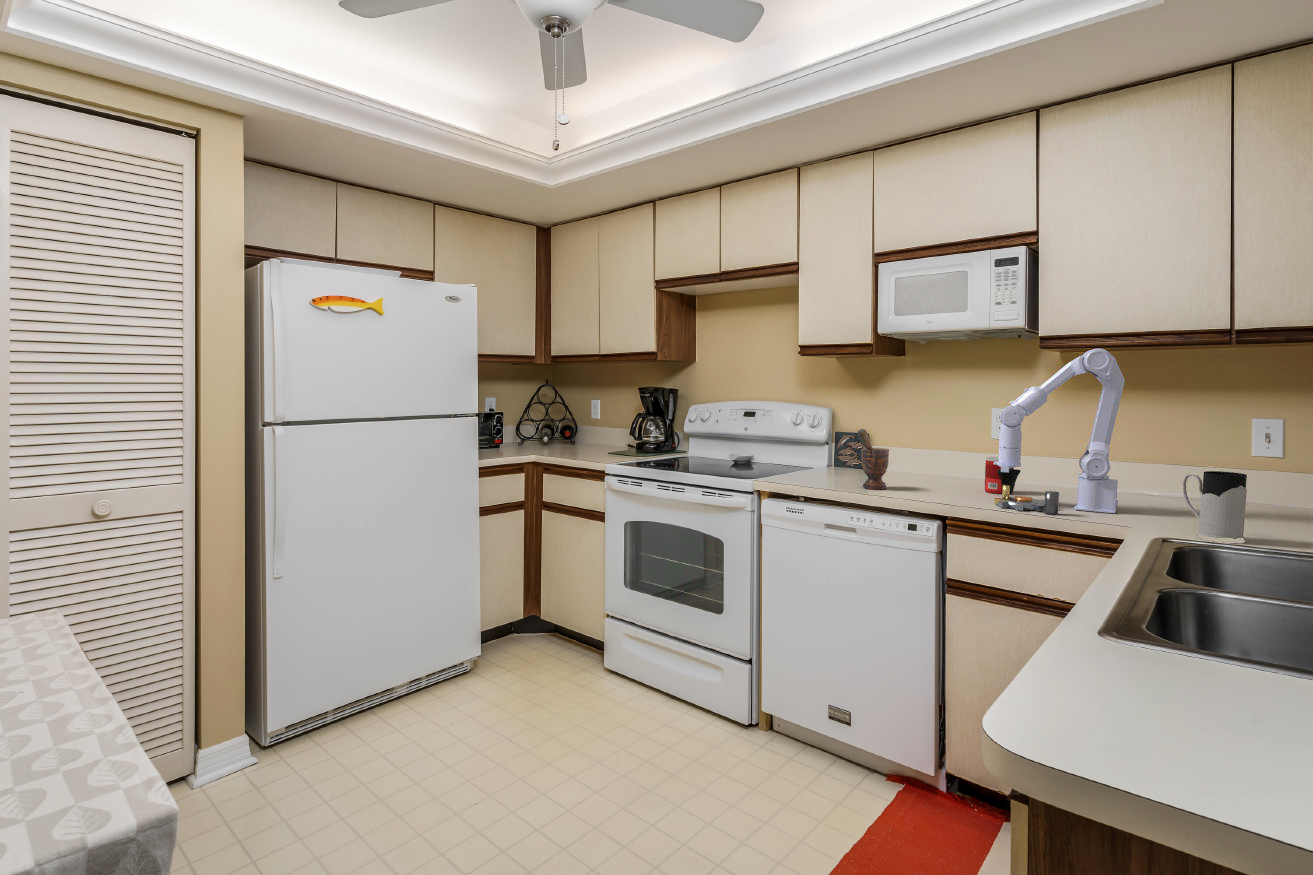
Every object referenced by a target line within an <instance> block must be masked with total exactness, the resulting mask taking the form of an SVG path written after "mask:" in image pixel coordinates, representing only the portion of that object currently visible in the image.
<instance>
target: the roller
mask: <svg viewBox="0 0 1313 875" xmlns="http://www.w3.org/2000/svg"><path fill="white" fill-rule="evenodd" d="M1059 498H1060V492H1059V491H1056V490H1045V491H1044V500H1045V507H1044V511H1043V513H1044V515H1048V516H1058V515H1059V504H1060V503H1059V502H1060V499H1059Z"/></svg>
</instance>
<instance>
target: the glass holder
mask: <svg viewBox="0 0 1313 875" xmlns="http://www.w3.org/2000/svg"><path fill="white" fill-rule="evenodd" d="M1191 476H1193V477H1195V478H1196V479H1197V483H1198V492H1199V494H1200V505H1199V507H1200V508H1199V513H1198V512H1197V511H1196V510H1195V508H1194V506H1193V505H1192V503H1191V502H1190V500H1189V496H1188V493H1187V481H1188V479H1189V477H1191ZM1202 476H1203V478H1201V477H1200V475H1197V474H1194V473H1191V474H1190V473H1189V474H1187V475H1185V476H1184V477H1183V480H1182V491H1183V498H1184V500H1185V502H1186V504H1187V506H1188V508H1189V509H1190V510H1191V511H1192V513H1193V515H1195V517H1197V519H1198V520H1199V521H1198V531H1197V533H1198V534H1200V535H1203V536H1208V537H1214V538H1233V539H1237V538H1244V539H1245V537H1244V536H1245V534H1244V531H1245V518H1246V505H1247V492H1248V489H1247V478H1248V476H1247V474H1246V473H1242V472H1241V473H1240V472H1235V471H1234V472H1233V471H1220V470H1218V471H1216V470H1210V471H1209V470H1207V471H1203V475H1202Z"/></svg>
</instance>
